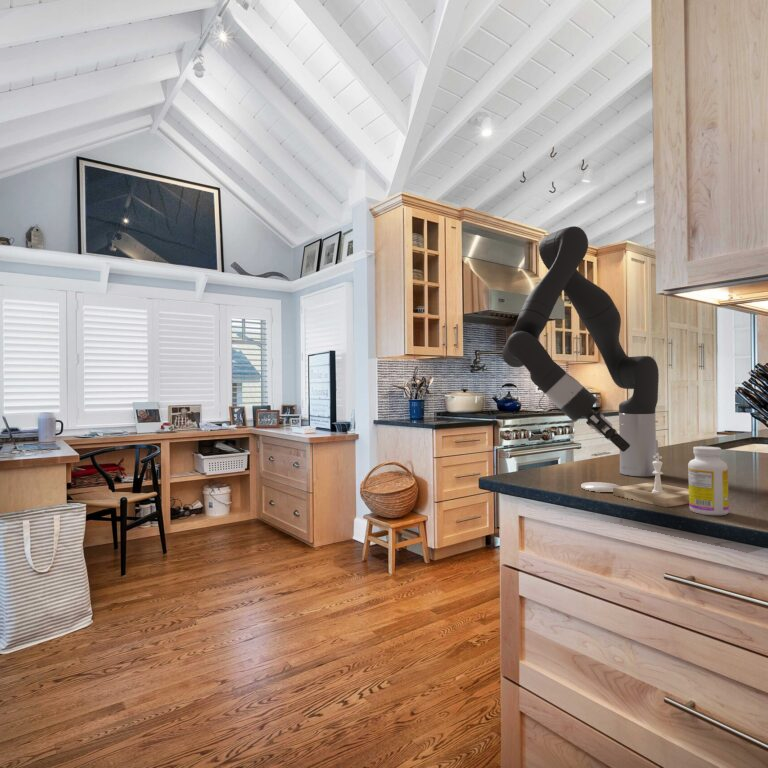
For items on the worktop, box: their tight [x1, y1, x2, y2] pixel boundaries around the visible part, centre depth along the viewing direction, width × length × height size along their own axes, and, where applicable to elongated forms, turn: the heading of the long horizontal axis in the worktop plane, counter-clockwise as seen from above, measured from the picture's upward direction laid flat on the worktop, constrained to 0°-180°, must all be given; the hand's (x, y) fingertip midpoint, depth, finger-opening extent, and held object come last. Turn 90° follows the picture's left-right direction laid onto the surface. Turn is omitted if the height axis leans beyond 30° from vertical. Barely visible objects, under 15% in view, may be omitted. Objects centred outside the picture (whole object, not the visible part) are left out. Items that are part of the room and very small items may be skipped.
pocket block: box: [612, 481, 689, 508], centre depth 113 cm, size 13×13×2 cm
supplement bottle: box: [687, 445, 730, 517], centre depth 100 cm, size 7×7×13 cm
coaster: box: [580, 481, 621, 493], centre depth 124 cm, size 9×9×1 cm
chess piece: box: [652, 452, 666, 494], centre depth 113 cm, size 5×5×10 cm
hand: (624, 446), depth 116 cm, fingers open, 8 cm apart
